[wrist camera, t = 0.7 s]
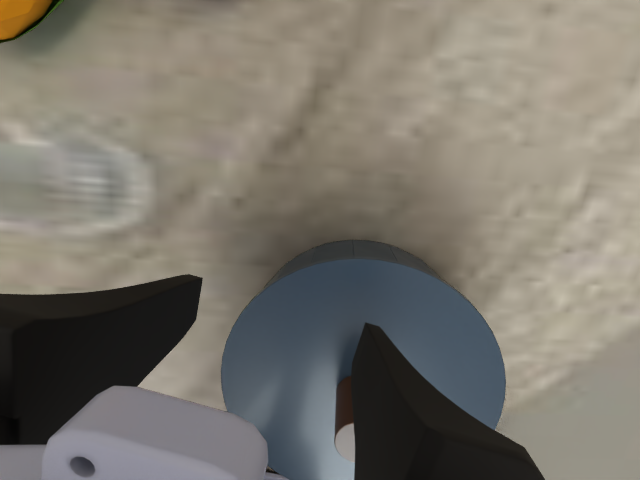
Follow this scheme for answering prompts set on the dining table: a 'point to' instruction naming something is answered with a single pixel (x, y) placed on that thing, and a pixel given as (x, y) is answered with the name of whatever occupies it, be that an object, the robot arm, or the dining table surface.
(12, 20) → the corn
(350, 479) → the pot lid
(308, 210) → the dining table surface
